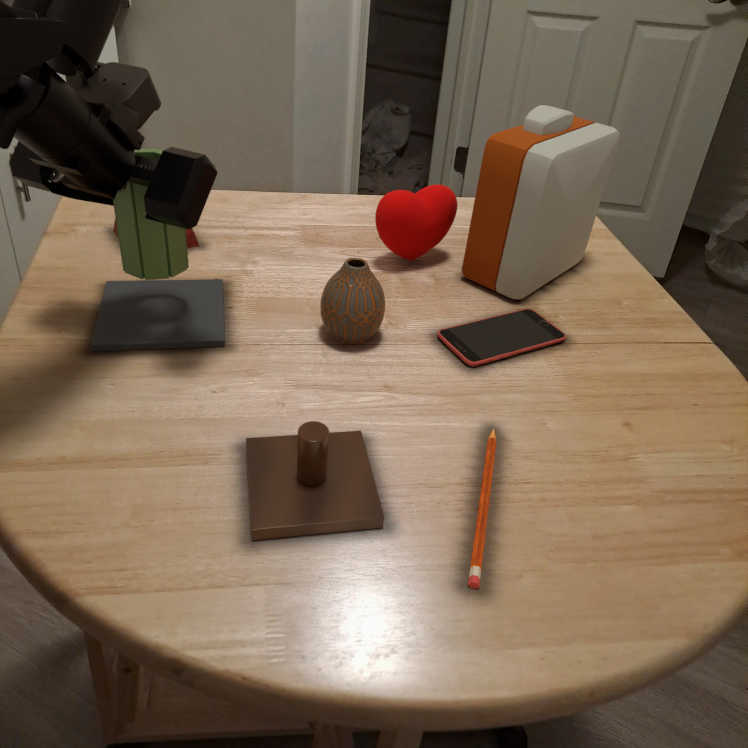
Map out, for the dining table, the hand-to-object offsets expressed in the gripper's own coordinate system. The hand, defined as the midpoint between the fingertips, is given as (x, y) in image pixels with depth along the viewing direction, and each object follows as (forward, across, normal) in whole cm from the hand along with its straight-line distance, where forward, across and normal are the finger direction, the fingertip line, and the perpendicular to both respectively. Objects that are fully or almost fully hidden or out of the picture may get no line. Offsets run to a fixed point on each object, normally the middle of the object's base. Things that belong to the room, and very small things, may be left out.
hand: (159, 211), depth 66 cm
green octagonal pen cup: (+3, 0, +5) cm, 6 cm away
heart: (+26, -20, -10) cm, 34 cm away
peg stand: (-4, -26, +20) cm, 33 cm away
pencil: (0, -39, +17) cm, 42 cm away
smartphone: (+17, -35, -1) cm, 39 cm away
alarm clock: (+30, -34, -14) cm, 47 cm away
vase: (+12, -20, +4) cm, 23 cm away
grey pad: (+7, 0, +9) cm, 12 cm away
